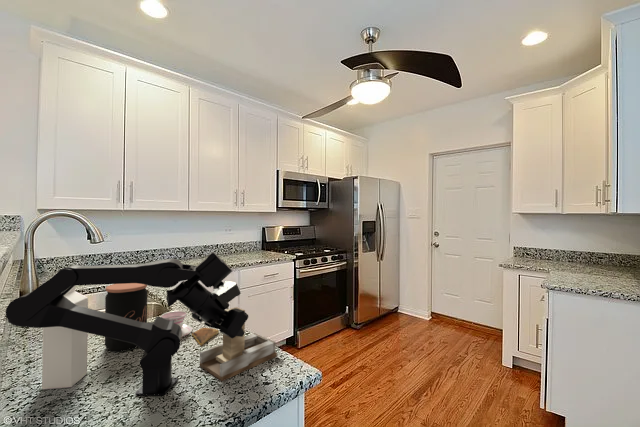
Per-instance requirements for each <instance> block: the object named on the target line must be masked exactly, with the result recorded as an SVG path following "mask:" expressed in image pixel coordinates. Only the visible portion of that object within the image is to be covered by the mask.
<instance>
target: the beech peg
mask: <svg viewBox="0 0 640 427" xmlns="http://www.w3.org/2000/svg"><path fill="white" fill-rule="evenodd" d="M235 308H237V309H240V310H242V311H244V312H245V313H246V310H245V309H243V308H240V307H237V306H235V307H232V308H231V307H230V308H227V309H225V310H226V311H229V310H231V309H235ZM245 326H246V322H245V323H244V325H243V326H242V329H243V331H244V335H243V336H242V337H240V336H236V337H234V338H233V339H232V338H230V337H228V336H226V335H224V334H222V344H223V354H221V355H218V356H216V360H217V361H219V362H220V363H224V362H226V361H229V360H231V359H234V358H236V357H239V356H241V355H243V354H242V353H243V351H244V345H245V336H246V335H245V331H246V330H245V329H246V327H245Z"/></svg>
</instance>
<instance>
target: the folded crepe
mask: <svg viewBox="0 0 640 427" xmlns="http://www.w3.org/2000/svg"><path fill="white" fill-rule="evenodd" d="M219 333H220V329H216V328H211V327H201V328H199V329H197V330H196V331H194V332H191V336H192V337H193V338H194V339H195V341H196V342H197V344H198V345H199V346H201V347H202V346H203V345H205V343H207V342H208V341H209V340H210V339H212V338H213V337H215V336H216V335H217V334H219ZM214 335H215V336H214Z"/></svg>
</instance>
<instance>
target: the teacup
mask: <svg viewBox="0 0 640 427" xmlns="http://www.w3.org/2000/svg"><path fill="white" fill-rule="evenodd" d="M187 316H188V314H187V312H186V311H184V310H171V311H167V312H164V313H162V314H161V315H160V317H162V318H164V319H166V320H175V321H174V323H176V324H178V325H179V326H180V328H181V330H182V338H183V337H185V336H187V335H190V334H192V333H193V327H192V326H190V325H189V324H188V325H187V324H183V323H184V320H185V318H186V317H187Z"/></svg>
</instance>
